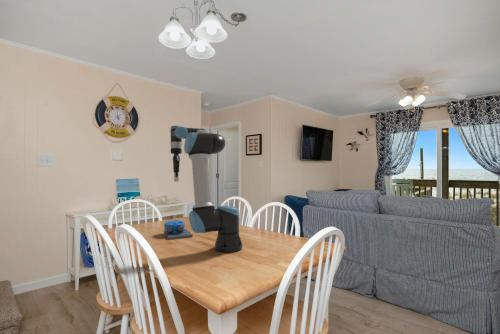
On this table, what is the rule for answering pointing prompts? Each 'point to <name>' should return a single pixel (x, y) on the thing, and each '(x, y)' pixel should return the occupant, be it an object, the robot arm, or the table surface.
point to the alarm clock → (174, 227)
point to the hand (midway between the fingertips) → (176, 181)
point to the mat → (179, 235)
